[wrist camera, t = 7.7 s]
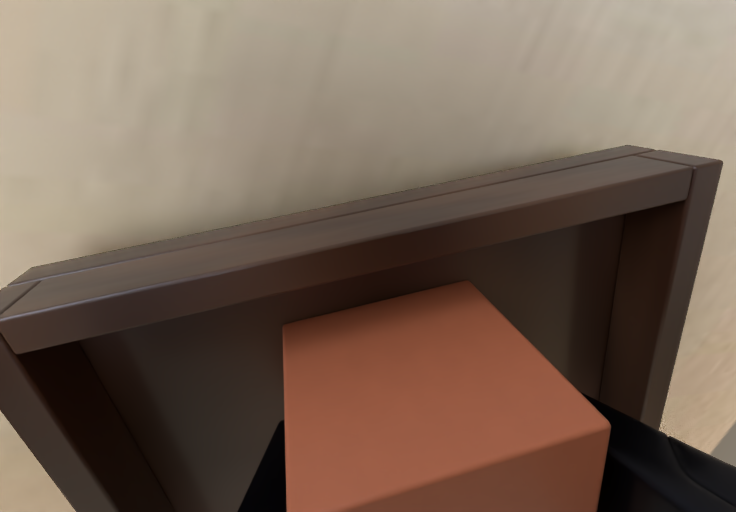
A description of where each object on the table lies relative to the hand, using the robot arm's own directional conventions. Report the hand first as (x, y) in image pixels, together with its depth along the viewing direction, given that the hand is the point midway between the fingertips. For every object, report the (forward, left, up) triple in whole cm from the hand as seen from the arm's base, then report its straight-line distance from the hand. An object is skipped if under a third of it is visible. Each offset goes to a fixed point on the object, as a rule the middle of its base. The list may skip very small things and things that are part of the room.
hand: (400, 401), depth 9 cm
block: (0, 0, -1) cm, 1 cm away
